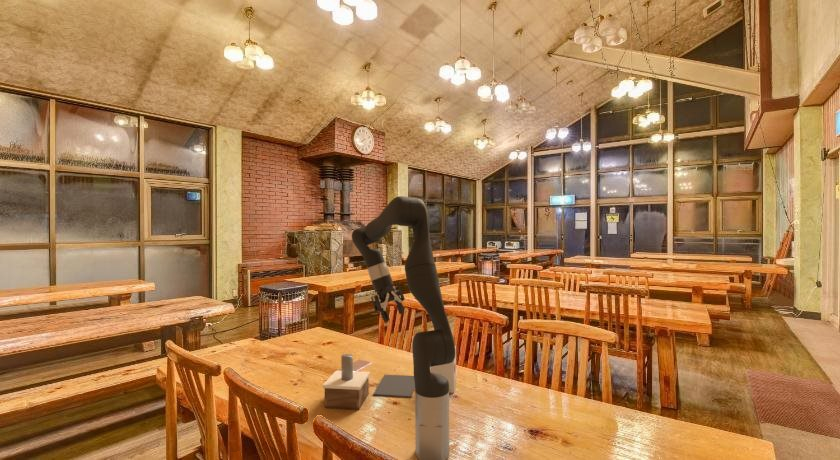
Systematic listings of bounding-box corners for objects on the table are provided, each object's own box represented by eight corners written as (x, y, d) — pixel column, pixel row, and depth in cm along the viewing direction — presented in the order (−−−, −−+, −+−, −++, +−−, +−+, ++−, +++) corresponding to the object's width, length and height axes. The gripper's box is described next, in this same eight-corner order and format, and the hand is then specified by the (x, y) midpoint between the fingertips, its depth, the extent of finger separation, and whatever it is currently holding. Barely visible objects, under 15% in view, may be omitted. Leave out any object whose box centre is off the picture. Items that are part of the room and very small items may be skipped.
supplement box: (454, 393, 139) (454, 353, 139) (430, 391, 141) (429, 351, 141) (456, 383, 148) (456, 345, 148) (434, 381, 150) (433, 344, 149)
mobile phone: (372, 361, 170) (351, 373, 157) (372, 363, 170) (351, 375, 157) (358, 359, 174) (337, 370, 161) (358, 361, 174) (337, 372, 161)
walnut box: (358, 409, 127) (358, 389, 127) (324, 407, 129) (324, 387, 129) (368, 394, 139) (368, 375, 139) (337, 392, 141) (337, 373, 141)
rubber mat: (411, 397, 136) (411, 396, 136) (373, 395, 138) (373, 393, 138) (418, 377, 154) (418, 376, 154) (384, 375, 156) (384, 374, 156)
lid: (359, 394, 127) (359, 363, 126) (322, 392, 128) (322, 361, 128) (370, 378, 139) (369, 350, 139) (336, 377, 141) (335, 349, 141)
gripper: (373, 278, 136) (389, 322, 135) (399, 269, 147) (413, 309, 146) (360, 283, 140) (375, 325, 139) (386, 274, 152) (400, 312, 150)
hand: (394, 317), depth 142 cm, fingers open, 8 cm apart
